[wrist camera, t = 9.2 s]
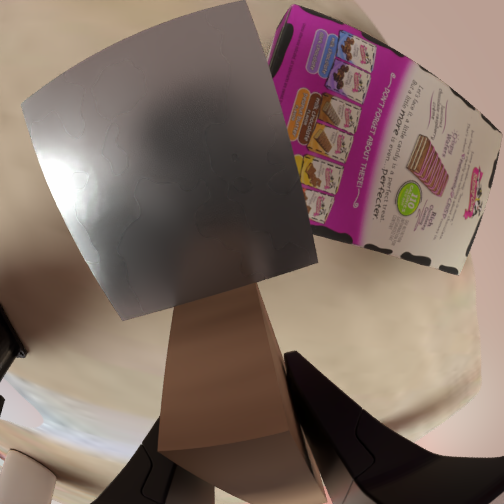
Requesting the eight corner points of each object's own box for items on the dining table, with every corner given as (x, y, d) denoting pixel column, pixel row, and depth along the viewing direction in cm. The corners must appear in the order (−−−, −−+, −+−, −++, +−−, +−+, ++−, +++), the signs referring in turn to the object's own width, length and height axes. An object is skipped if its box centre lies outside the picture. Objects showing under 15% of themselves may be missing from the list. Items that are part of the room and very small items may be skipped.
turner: (337, 410, 13) (365, 489, 9) (229, 438, 13) (238, 518, 9) (242, 8, 5) (290, -124, 1) (32, 102, 5) (-113, 134, 1)
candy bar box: (223, 194, 17) (422, 253, 21) (223, 214, 13) (460, 281, 16) (274, 31, 14) (463, 129, 17) (291, -3, 9) (507, 135, 12)
